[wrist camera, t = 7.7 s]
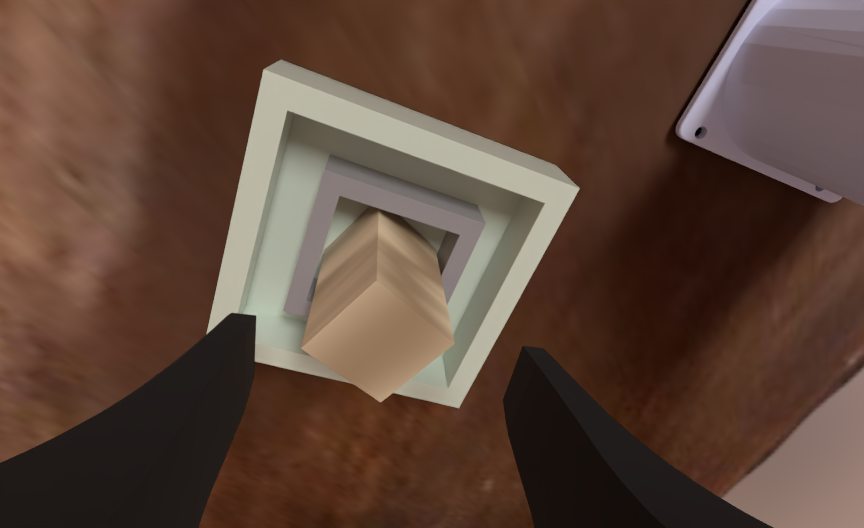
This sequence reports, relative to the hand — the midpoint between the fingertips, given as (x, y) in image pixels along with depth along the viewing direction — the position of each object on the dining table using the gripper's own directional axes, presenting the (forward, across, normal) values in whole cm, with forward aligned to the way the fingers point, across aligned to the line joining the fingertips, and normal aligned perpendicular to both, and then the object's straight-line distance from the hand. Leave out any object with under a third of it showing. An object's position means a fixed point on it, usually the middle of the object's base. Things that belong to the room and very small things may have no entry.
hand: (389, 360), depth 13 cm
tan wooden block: (+9, 0, +1) cm, 9 cm away
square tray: (+10, 0, +1) cm, 10 cm away
